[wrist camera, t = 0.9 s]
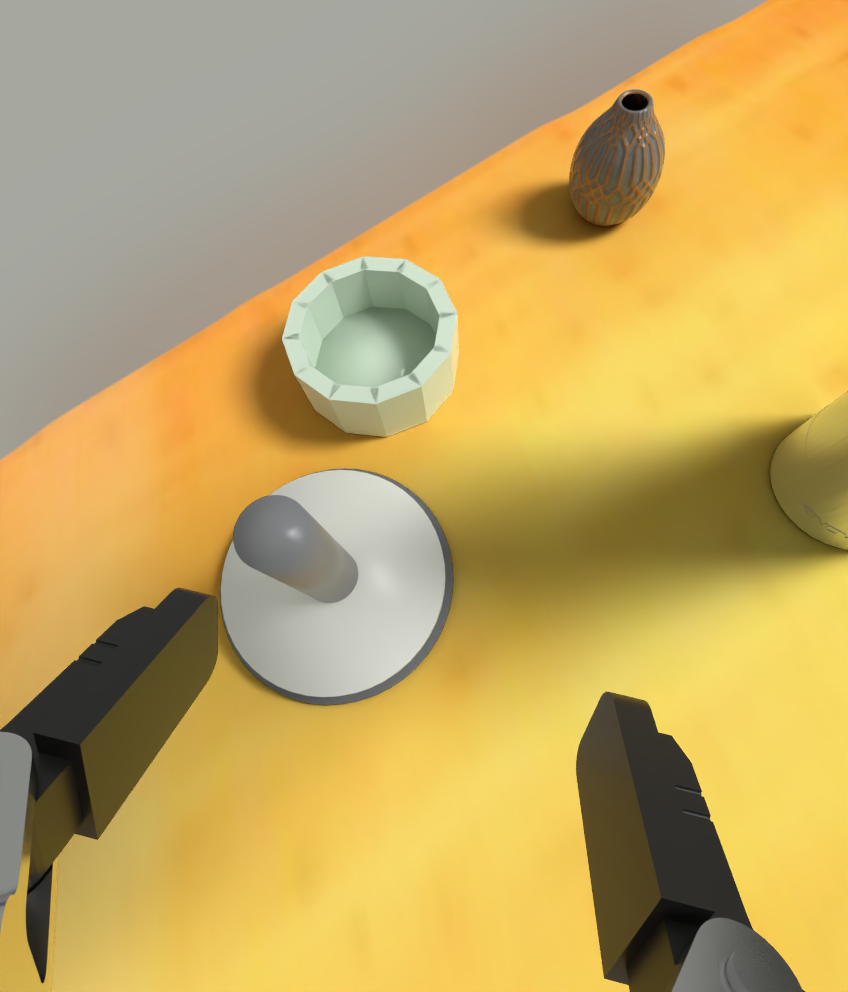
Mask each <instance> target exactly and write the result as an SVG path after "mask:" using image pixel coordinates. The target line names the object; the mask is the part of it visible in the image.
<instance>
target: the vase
mask: <svg viewBox="0 0 848 992" xmlns="http://www.w3.org/2000/svg"><path fill="white" fill-rule="evenodd" d="M664 156H665V142H664V136H663V132H662V129H661V127H660V125H659V122H658V120H657V118H656V116H655V114H654V109H653V100H652V97H651V96H650V95H649V94H648V93H646V92H645V91H642V90H628V91H626V92H624V93H622V94H621V95H620V96H619V97H618V98H617V100H616V101H615V103H614V104H613V105H612V107H611V108H609V109H608V110H607V111H606V112H604V113H603V114H602V115H601V116H600V117H598V118H597V119H596V120H595V121H594V122H593V123H592V124H591V125H590V126H589V127H588V129H587V130H586V132H585V133H584V135H583V136H582V138H581V140H580V142H579V144H578V146H577V148H576V150H575V153H574V155H573V159H572V163H571V168H570V175H569V189H570V196H571V199H572V203H573V205H574V207H575V209H576V210H577V212H578V213H579V214H580V215H581V216H582V217H583V218H584V219H586V220H587V221H589V222H591V223H593V224H596V225H600V226H610V225H615V224H618V223H621V222H624V221H626V220H628V219H629V218H631V217H633V216H634V215H635V214H636V213H637V212H638V211H639V210H641V209H642V207H643V206H644V205H645V204H646V203H647V201H648V200H649V198H650V197H651V195H652V194H653V192H654V190H655V188H656V186H657V183H658V181H659V179H660V176H661V173H662V169H663V164H664Z"/></svg>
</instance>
